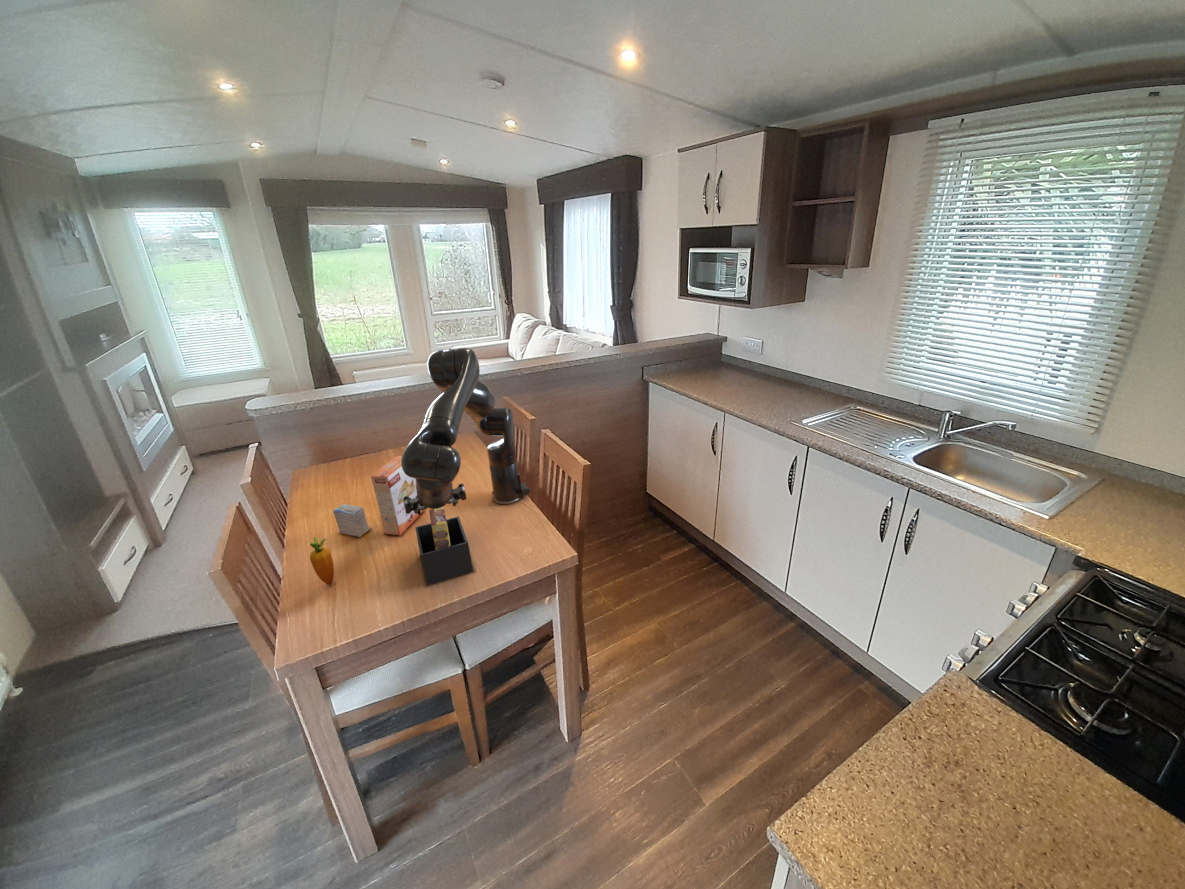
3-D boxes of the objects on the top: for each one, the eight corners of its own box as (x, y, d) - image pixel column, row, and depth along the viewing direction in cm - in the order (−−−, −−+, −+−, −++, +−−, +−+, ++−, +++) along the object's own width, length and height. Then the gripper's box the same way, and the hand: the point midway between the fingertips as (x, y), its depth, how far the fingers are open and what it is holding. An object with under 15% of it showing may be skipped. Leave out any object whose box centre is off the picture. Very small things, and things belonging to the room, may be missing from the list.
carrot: (324, 579, 130) (309, 534, 124) (343, 577, 131) (328, 532, 124) (316, 591, 126) (300, 545, 120) (336, 590, 126) (320, 544, 120)
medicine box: (370, 529, 151) (363, 506, 147) (359, 538, 147) (352, 514, 144) (350, 525, 154) (343, 502, 150) (339, 533, 150) (332, 510, 146)
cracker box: (401, 536, 147) (387, 477, 139) (384, 534, 149) (369, 475, 140) (424, 511, 160) (413, 456, 151) (408, 510, 161) (395, 454, 152)
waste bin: (463, 543, 143) (458, 516, 139) (473, 571, 131) (468, 542, 127) (421, 555, 139) (415, 527, 135) (427, 585, 127) (420, 555, 123)
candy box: (455, 569, 131) (446, 522, 125) (439, 573, 130) (429, 526, 124) (452, 550, 139) (443, 506, 132) (437, 554, 138) (427, 509, 131)
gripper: (462, 465, 109) (461, 486, 124) (397, 479, 104) (403, 499, 118) (470, 495, 107) (468, 513, 121) (403, 511, 102) (409, 528, 116)
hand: (436, 506), depth 120 cm, fingers open, 8 cm apart
